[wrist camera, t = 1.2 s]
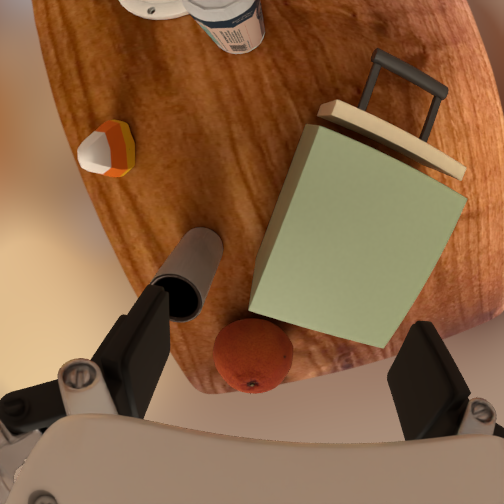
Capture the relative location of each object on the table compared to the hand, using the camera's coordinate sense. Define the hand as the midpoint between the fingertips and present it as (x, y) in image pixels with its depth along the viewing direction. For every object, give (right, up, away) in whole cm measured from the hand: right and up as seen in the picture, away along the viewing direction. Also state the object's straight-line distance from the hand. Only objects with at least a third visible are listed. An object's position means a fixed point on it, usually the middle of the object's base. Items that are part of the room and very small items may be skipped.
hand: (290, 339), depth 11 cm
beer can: (-3, +24, +13) cm, 27 cm away
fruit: (-1, -7, +26) cm, 27 cm away
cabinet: (+7, +7, +19) cm, 22 cm away
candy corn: (-15, +14, +18) cm, 27 cm away
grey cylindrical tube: (-7, +4, +22) cm, 23 cm away
